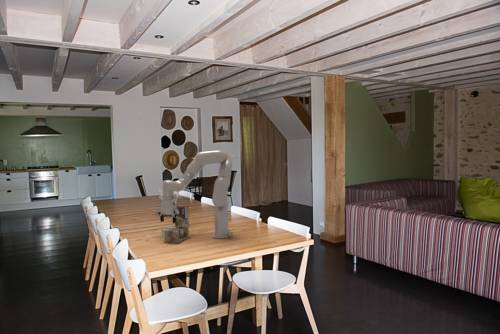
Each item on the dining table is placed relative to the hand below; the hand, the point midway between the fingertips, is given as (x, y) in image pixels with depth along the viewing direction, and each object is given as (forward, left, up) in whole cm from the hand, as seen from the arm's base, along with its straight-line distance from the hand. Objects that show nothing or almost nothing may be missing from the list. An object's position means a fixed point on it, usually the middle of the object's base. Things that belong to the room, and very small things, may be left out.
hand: (168, 222), depth 256 cm
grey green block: (-1, 0, -10) cm, 10 cm away
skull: (+41, -67, -10) cm, 80 cm away
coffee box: (+6, -29, -10) cm, 32 cm away
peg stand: (-12, +8, -10) cm, 17 cm away
